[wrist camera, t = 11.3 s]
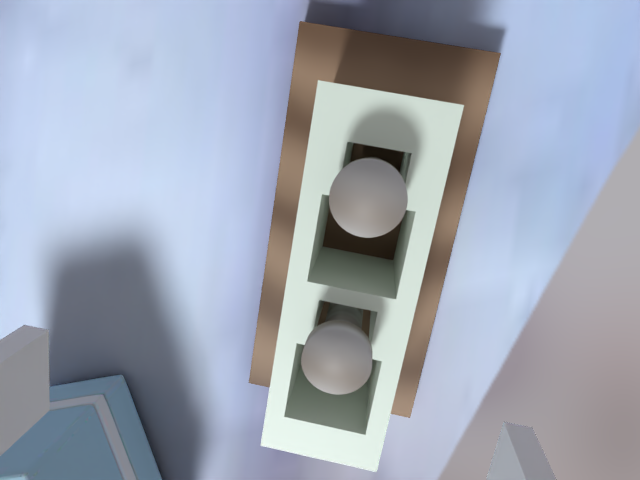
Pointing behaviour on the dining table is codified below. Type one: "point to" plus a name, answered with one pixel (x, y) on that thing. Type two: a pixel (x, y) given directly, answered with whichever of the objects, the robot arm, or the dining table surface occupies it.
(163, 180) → the dining table surface
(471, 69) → the board
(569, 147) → the dining table surface
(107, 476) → the radio
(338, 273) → the two-pocket foam insert
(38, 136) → the dining table surface
